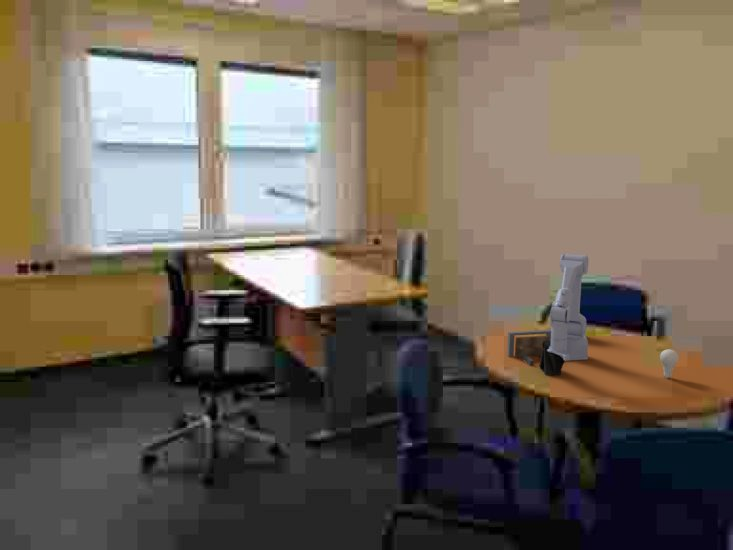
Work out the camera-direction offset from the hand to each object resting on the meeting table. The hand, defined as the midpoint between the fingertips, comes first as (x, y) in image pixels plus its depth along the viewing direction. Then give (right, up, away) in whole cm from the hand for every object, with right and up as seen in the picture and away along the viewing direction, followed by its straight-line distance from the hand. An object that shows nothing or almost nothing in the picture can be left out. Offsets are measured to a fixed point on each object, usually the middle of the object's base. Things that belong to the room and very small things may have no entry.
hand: (556, 372), depth 234 cm
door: (-3, +3, +22) cm, 23 cm away
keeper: (-3, +2, +17) cm, 17 cm away
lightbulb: (+40, -2, -2) cm, 41 cm away
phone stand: (-1, -1, +6) cm, 6 cm away
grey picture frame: (-4, +4, +25) cm, 25 cm away
